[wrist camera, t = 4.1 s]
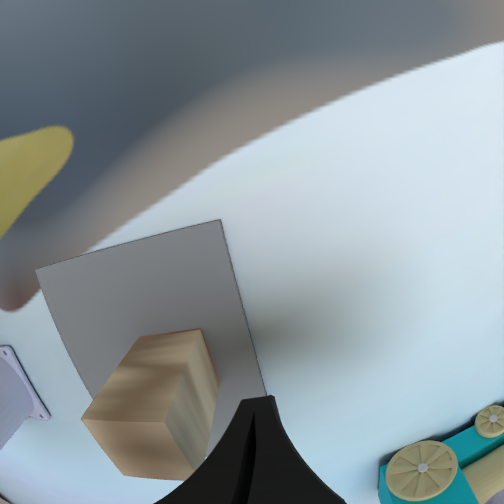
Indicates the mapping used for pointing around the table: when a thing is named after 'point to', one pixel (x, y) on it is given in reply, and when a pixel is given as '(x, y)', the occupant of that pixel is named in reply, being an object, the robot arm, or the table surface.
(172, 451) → the maple block
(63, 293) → the slate mat
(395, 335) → the table surface
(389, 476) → the toy train
